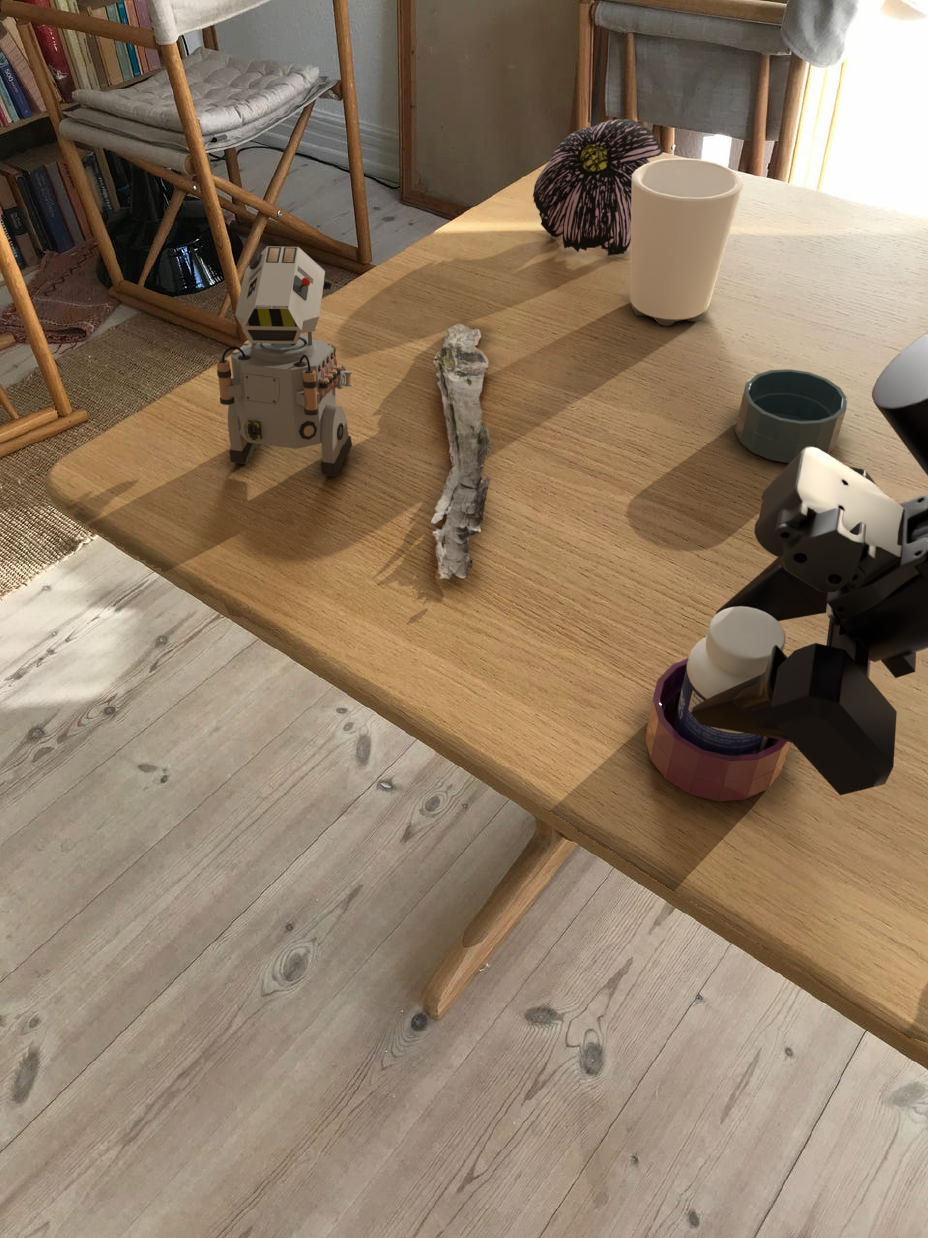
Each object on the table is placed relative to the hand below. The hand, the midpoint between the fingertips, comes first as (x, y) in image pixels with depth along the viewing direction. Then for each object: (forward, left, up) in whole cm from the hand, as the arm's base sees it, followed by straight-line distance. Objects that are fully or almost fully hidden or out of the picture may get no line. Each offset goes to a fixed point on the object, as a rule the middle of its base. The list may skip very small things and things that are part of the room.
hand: (708, 666), depth 56 cm
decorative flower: (+22, -69, -7) cm, 73 cm away
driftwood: (+23, -26, -7) cm, 36 cm away
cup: (+11, -53, -7) cm, 55 cm away
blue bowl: (-2, -34, -7) cm, 35 cm away
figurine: (+36, -21, -7) cm, 42 cm away
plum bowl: (-1, 0, -7) cm, 7 cm away
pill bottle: (-2, 0, -7) cm, 7 cm away
